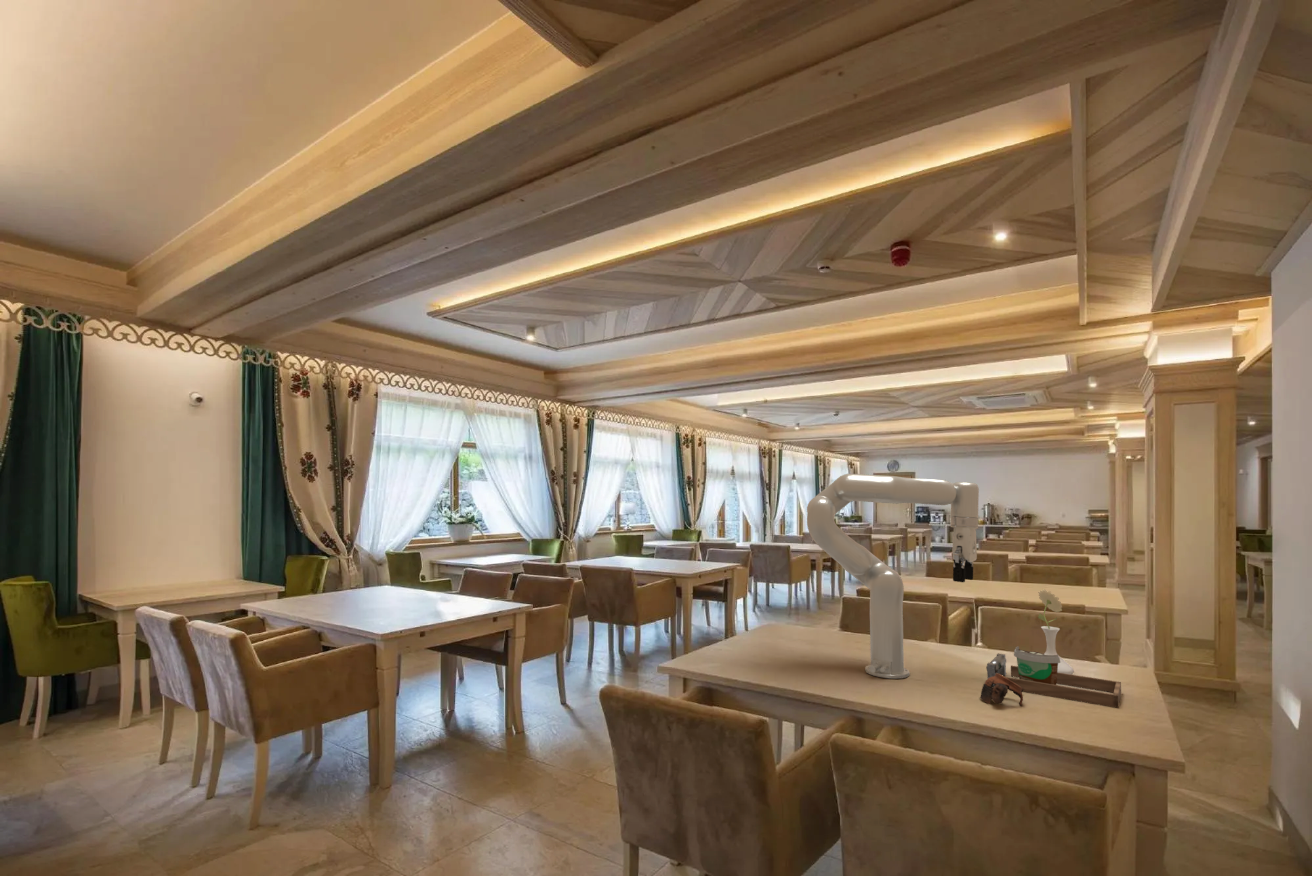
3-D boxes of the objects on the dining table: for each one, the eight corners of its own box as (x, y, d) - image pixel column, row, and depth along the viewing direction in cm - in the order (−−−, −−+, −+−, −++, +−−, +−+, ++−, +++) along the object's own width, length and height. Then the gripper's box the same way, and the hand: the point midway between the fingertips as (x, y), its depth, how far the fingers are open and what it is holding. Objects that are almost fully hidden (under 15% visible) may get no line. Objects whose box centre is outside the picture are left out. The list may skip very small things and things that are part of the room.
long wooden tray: (1118, 707, 168) (1117, 695, 168) (1001, 687, 184) (1000, 676, 184) (1121, 693, 180) (1120, 682, 180) (1011, 675, 197) (1011, 665, 197)
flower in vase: (1080, 680, 192) (1077, 594, 194) (1038, 677, 195) (1035, 592, 197) (1062, 668, 205) (1059, 588, 207) (1023, 666, 207) (1020, 586, 209)
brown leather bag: (977, 696, 178) (992, 670, 178) (1013, 718, 172) (1028, 691, 173) (975, 696, 168) (990, 668, 168) (1012, 720, 163) (1028, 691, 163)
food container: (1005, 683, 188) (1004, 648, 189) (1017, 680, 191) (1016, 645, 192) (1049, 695, 178) (1047, 657, 179) (1061, 692, 181) (1060, 655, 182)
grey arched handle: (997, 687, 185) (996, 665, 185) (985, 685, 186) (985, 663, 187) (1009, 673, 199) (1008, 653, 200) (998, 671, 201) (997, 651, 202)
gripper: (970, 524, 188) (969, 584, 187) (984, 523, 202) (983, 579, 200) (943, 522, 193) (942, 581, 191) (958, 522, 206) (957, 576, 205)
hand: (963, 580), depth 196 cm, fingers open, 9 cm apart
